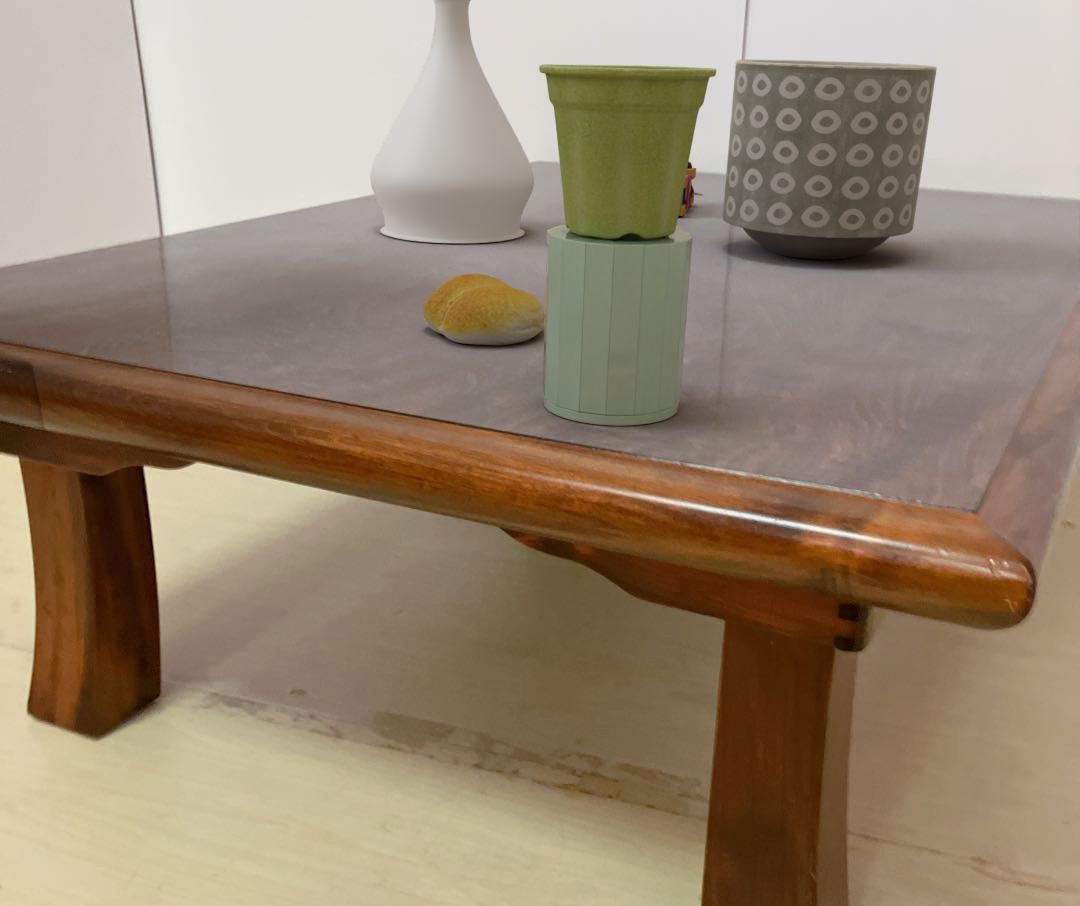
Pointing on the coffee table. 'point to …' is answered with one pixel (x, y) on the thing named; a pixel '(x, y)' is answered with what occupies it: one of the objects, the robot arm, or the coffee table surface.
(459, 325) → the bread roll
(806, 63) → the planter
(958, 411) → the coffee table surface
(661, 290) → the cup
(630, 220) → the plant pot
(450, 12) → the vase
